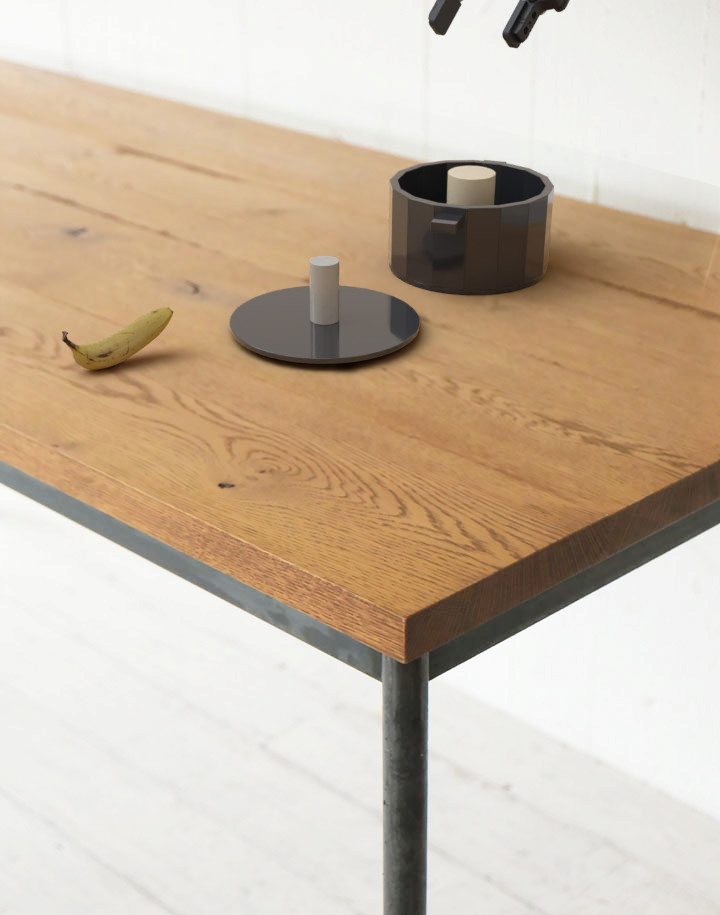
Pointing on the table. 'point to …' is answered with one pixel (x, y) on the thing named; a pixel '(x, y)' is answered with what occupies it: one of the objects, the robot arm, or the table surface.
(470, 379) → the table surface
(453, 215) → the pot
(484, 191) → the beige wooden cylinder
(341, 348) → the lid
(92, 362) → the banana
